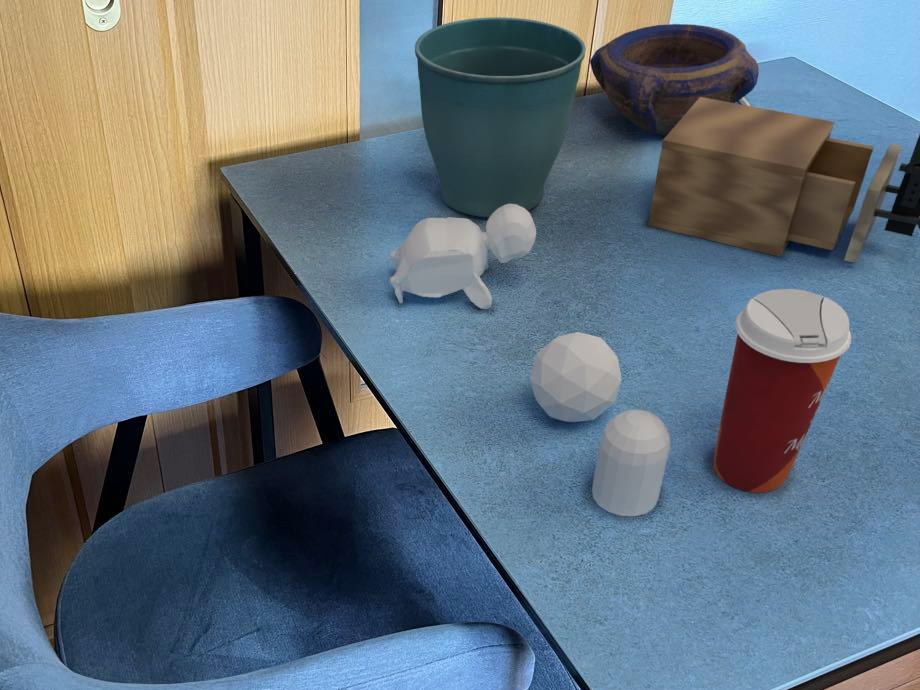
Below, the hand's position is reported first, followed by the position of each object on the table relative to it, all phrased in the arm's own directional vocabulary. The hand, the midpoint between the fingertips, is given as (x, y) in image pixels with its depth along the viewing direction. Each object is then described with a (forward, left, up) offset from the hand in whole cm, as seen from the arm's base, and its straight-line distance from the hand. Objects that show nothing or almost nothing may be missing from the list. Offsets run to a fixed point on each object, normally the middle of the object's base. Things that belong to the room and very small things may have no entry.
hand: (902, 221), depth 108 cm
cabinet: (+17, 0, -4) cm, 18 cm away
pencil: (+23, -28, -4) cm, 36 cm away
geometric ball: (+19, +42, -4) cm, 46 cm away
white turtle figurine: (+38, +28, -4) cm, 47 cm away
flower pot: (+43, +8, -4) cm, 44 cm away
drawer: (+7, 0, -3) cm, 7 cm away
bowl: (+32, -21, -4) cm, 39 cm away
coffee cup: (+4, +42, -4) cm, 42 cm away
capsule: (+12, +50, -4) cm, 51 cm away
